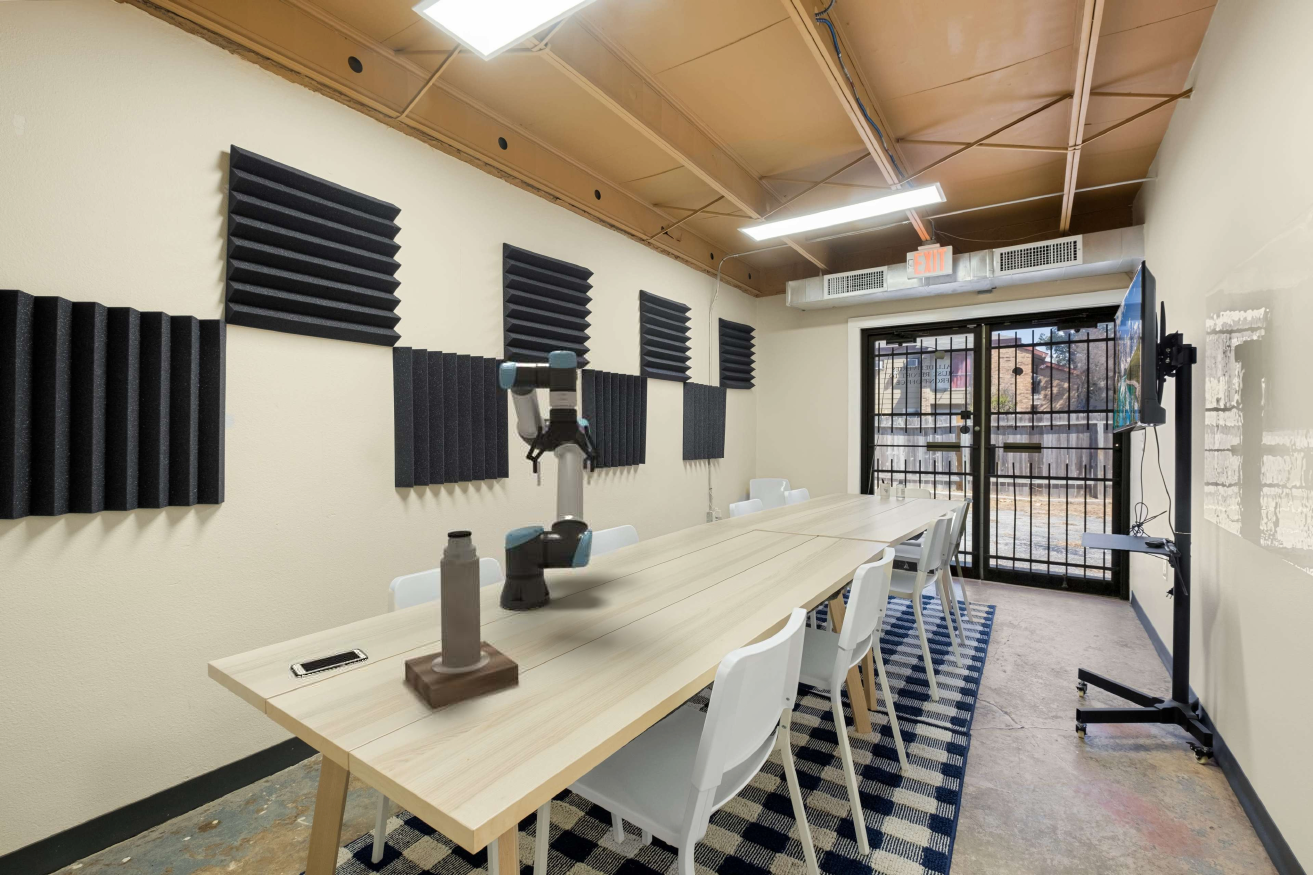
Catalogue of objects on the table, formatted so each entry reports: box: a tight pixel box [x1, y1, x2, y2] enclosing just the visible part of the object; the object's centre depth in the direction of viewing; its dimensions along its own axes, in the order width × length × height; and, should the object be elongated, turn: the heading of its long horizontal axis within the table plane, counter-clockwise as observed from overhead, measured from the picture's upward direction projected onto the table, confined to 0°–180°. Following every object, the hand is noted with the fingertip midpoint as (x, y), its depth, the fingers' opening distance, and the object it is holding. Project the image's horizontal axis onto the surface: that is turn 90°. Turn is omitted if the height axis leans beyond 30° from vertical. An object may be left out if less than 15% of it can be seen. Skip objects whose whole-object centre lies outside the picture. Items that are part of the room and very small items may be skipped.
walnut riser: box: [404, 640, 519, 710], centre depth 125 cm, size 18×18×4 cm
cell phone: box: [290, 648, 369, 676], centre depth 135 cm, size 8×15×1 cm, turn 134°
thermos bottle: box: [439, 530, 481, 668], centre depth 125 cm, size 8×8×28 cm
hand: (564, 485), depth 160 cm, fingers open, 13 cm apart
